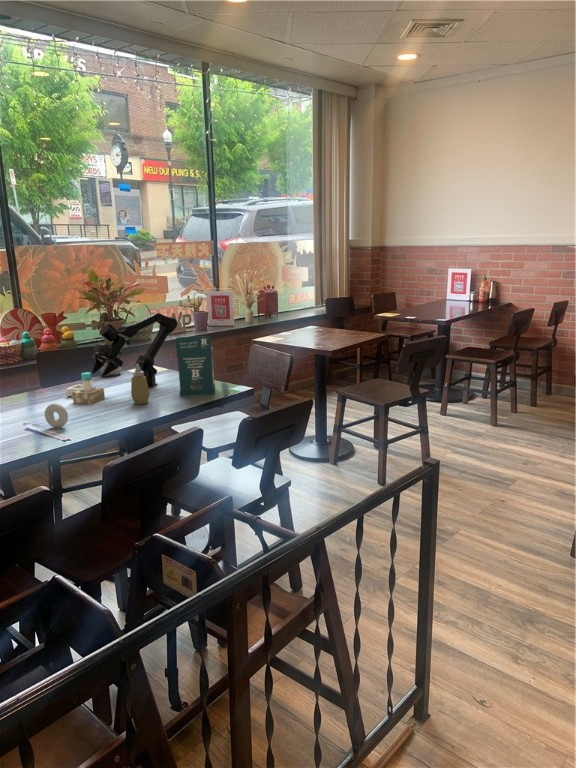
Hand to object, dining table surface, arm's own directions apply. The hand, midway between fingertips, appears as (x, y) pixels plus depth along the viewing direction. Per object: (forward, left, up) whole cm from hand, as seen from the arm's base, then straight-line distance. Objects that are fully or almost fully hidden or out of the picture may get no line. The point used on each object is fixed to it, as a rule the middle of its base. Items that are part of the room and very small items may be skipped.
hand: (97, 374), depth 263 cm
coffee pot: (+23, -40, -12) cm, 48 cm away
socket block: (+2, +5, -11) cm, 13 cm away
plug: (+2, +5, -11) cm, 13 cm away
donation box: (-42, -20, -12) cm, 47 cm away
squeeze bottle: (-25, +4, -12) cm, 28 cm away
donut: (-11, +43, -12) cm, 46 cm away
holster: (+13, -3, -11) cm, 18 cm away
